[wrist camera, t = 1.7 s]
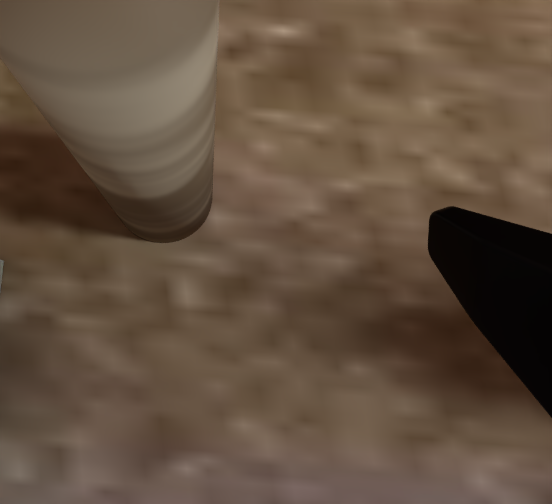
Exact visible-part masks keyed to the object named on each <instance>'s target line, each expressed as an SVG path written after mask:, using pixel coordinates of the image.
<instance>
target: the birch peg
mask: <svg viewBox="0 0 552 504" xmlns="http://www.w3.org/2000/svg"><path fill="white" fill-rule="evenodd" d="M218 25H219V0H0V58H1V60H2V61H3V62H4V64H5V65H6V66H7V68H8V69H9V70H10V72H11V73H12V74H13V76H14V77H15V78H16V80H17V81H18V82H19V84H20V85H21V86H22V88H23V89H24V90H25V92H26V93H27V94H28V96H29V97H30V98H31V100H32V101H33V103H34V104H35V105H36V107H37V108H38V109H39V111H40V112H41V113H42V115H43V116H44V117H45V119H46V120H47V121H48V123H49V124H50V125H51V127H52V128H53V129H54V131H55V132H56V133H57V135H58V136H59V137H60V139H61V140H62V141H63V143H64V144H65V145H66V147H67V148H68V150H69V151H70V152H71V154H72V155H73V156H74V158H75V159H76V160H77V162H78V163H79V164H80V166H81V167H82V168H83V170H84V171H85V172H86V174H87V175H88V176H89V178H90V179H91V180H92V182H93V183H94V184H95V186H96V187H97V188H98V190H99V191H100V192H101V194H102V195H103V197H104V198H105V199H106V201H107V202H108V203H109V205H110V206H111V207H112V209H113V210H114V211H115V213H116V214H117V215H118V217H119V218H120V219H121V221H122V222H123V223H124V225H125V226H126V227H127V228H128V229H129V230H130V231H131V232H133V233H134V234H135V235H137V236H139V237H141V238H143V239H145V240H148V241H152V242H157V243H170V242H175V241H179V240H182V239H184V238H186V237H188V236H190V235H192V234H193V233H194V232H195V231H197V230H198V229H199V228H200V227H201V225H202V224H203V223H204V222H205V220H206V218H207V216H208V214H209V212H210V208H211V204H212V189H213V162H214V135H215V107H216V80H217V53H218Z"/></svg>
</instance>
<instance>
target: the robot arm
mask: <svg viewBox="0 0 552 504" xmlns="http://www.w3.org/2000/svg"><path fill="white" fill-rule="evenodd" d="M428 251H429V255H430V257H431V259H432V260H433V262H434V264H435V265H436V267H437V268H438V270H439V271H440V273H441V274H442V276H443V277H444V279H445V280H446V282H447V284H448V285H449V287H450V288H451V290H452V291H453V293H454V294H455V296H456V297H457V299H458V300H459V302H460V304H461V305H462V307H463V308H464V310H465V311H466V313H467V314H468V315H469V317H470V318H471V320H472V321H473V322H474V324H475V325H476V326H477V327H478V329H479V330H480V331H481V332H482V334H483V335H484V336H485V337H486V338H487V340H488V341H489V342H490V343H491V344H492V346H493V347H494V348H495V349H496V351H497V352H498V353H499V354H500V355H501V357H502V358H503V359H504V360H505V361H506V363H507V364H508V365H509V366H510V368H511V369H512V370H513V371H514V372H515V374H516V375H517V376H518V377H519V379H520V380H521V381H522V382H523V383H524V385H525V386H526V387H527V388H528V389H529V391H530V392H531V393H532V394H533V396H534V397H535V398H536V399H537V400H538V402H539V403H540V404H541V405H542V406H543V408H544V409H545V410H546V411H547V413H548V414H549V415H550V416H551V417H552V234H550V233H547V232H543V231H540V230H536V229H533V228H529V227H525V226H522V225H518V224H515V223H511V222H508V221H504V220H500V219H497V218H493V217H490V216H486V215H483V214H479V213H475V212H472V211H468V210H465V209H461V208H458V207H454V206H450V207H446V208H443V209H440V210H437V211H434V212H433V213H432V214H431V216H430V219H429V233H428Z"/></svg>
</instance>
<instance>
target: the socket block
mask: <svg viewBox="0 0 552 504" xmlns="http://www.w3.org/2000/svg"><path fill="white" fill-rule="evenodd" d="M3 263H4V261H3V260H0V290H1V281H2V272H3Z"/></svg>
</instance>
